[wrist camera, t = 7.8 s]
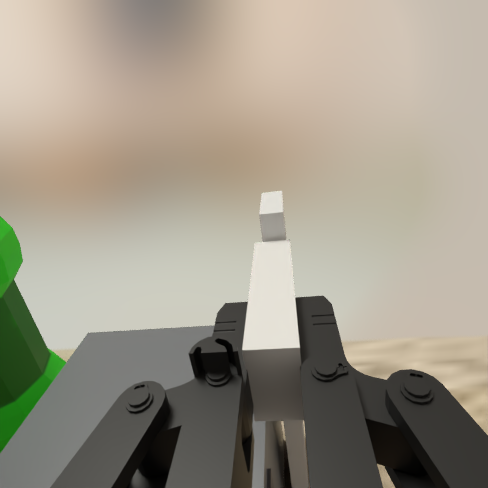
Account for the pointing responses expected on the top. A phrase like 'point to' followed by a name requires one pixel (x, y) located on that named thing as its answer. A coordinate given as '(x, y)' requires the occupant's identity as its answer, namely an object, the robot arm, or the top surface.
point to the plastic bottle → (19, 345)
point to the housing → (103, 397)
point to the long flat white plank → (294, 430)
